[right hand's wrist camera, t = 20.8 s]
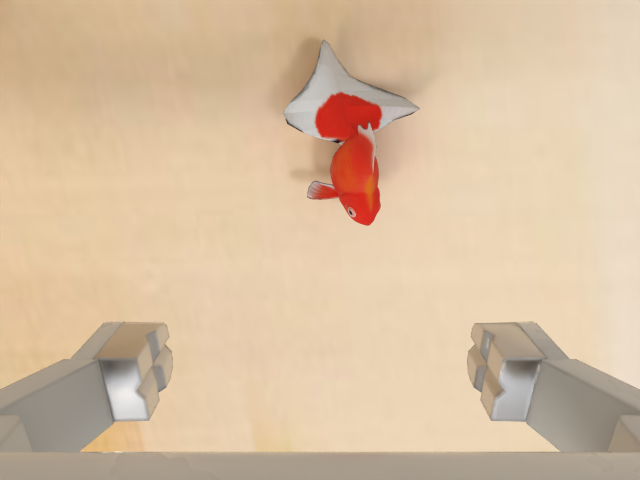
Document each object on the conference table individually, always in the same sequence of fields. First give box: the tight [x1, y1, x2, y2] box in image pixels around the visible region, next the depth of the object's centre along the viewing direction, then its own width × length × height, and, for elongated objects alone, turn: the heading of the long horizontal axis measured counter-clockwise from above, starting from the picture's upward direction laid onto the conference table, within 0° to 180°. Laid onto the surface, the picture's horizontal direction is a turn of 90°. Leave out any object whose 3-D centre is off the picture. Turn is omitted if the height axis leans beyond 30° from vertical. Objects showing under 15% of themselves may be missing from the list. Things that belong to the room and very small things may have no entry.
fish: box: [284, 40, 420, 225], centre depth 35 cm, size 11×16×10 cm
